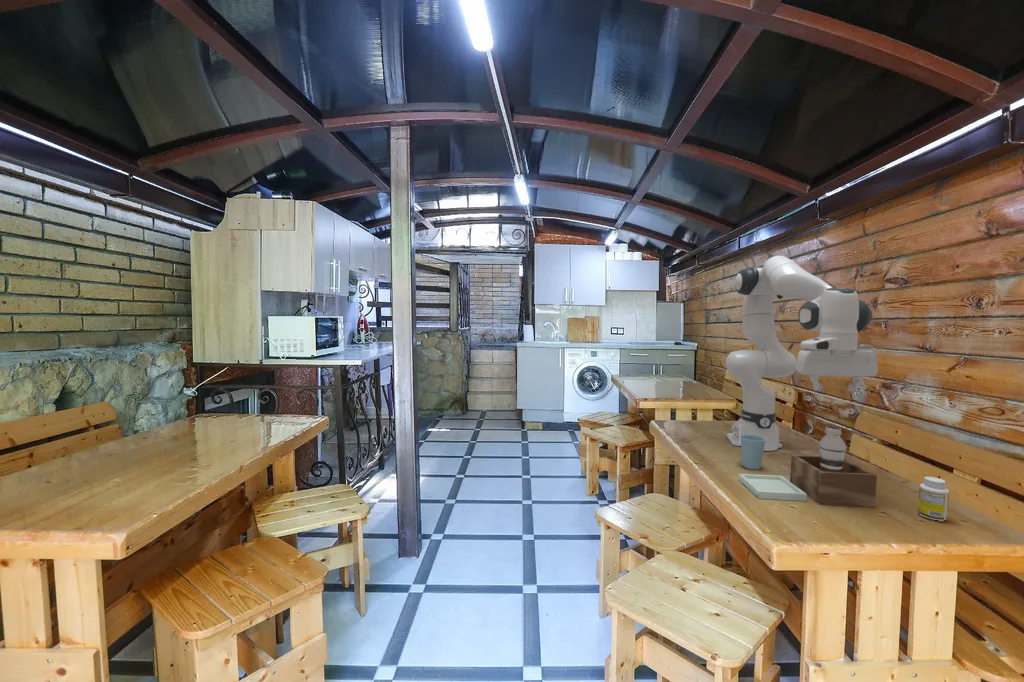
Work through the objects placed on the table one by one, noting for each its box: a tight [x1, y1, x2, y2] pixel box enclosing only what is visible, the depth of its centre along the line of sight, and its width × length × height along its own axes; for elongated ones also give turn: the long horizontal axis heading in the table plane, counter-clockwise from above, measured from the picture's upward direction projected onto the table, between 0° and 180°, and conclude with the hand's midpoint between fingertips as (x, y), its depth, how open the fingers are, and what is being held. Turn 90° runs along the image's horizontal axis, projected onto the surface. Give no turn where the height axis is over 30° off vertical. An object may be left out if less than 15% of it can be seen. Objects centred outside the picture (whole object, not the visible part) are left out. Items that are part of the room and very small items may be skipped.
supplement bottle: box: [917, 476, 950, 521], centre depth 111 cm, size 6×6×10 cm
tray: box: [737, 473, 808, 502], centre depth 128 cm, size 14×13×2 cm
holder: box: [789, 454, 878, 508], centre depth 125 cm, size 15×14×9 cm
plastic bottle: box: [818, 425, 847, 472], centre depth 125 cm, size 6×7×20 cm
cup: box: [740, 435, 766, 470], centre depth 147 cm, size 8×8×10 cm
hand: (835, 391), depth 123 cm, fingers open, 8 cm apart
